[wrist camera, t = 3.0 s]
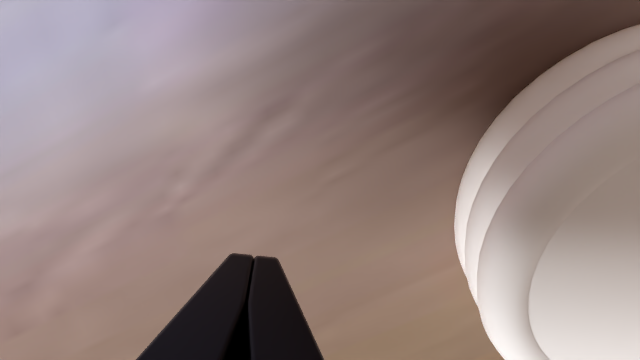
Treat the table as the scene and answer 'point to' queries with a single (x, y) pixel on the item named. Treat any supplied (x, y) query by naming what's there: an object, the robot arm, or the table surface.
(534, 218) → the coaster
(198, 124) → the table surface
